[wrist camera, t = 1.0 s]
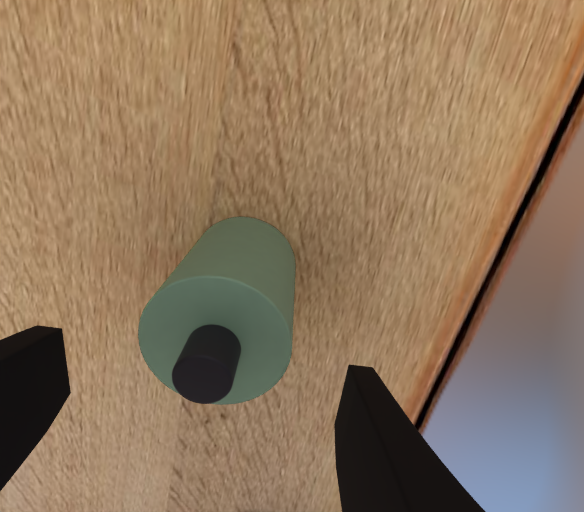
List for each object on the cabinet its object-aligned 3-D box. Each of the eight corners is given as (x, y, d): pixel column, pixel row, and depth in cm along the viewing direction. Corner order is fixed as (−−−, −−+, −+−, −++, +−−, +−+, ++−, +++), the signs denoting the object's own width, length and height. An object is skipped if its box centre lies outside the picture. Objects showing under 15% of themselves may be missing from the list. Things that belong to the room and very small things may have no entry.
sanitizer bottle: (288, 315, 17) (279, 455, 10) (193, 303, 17) (117, 435, 10) (302, 223, 15) (302, 316, 8) (195, 209, 15) (105, 291, 8)
